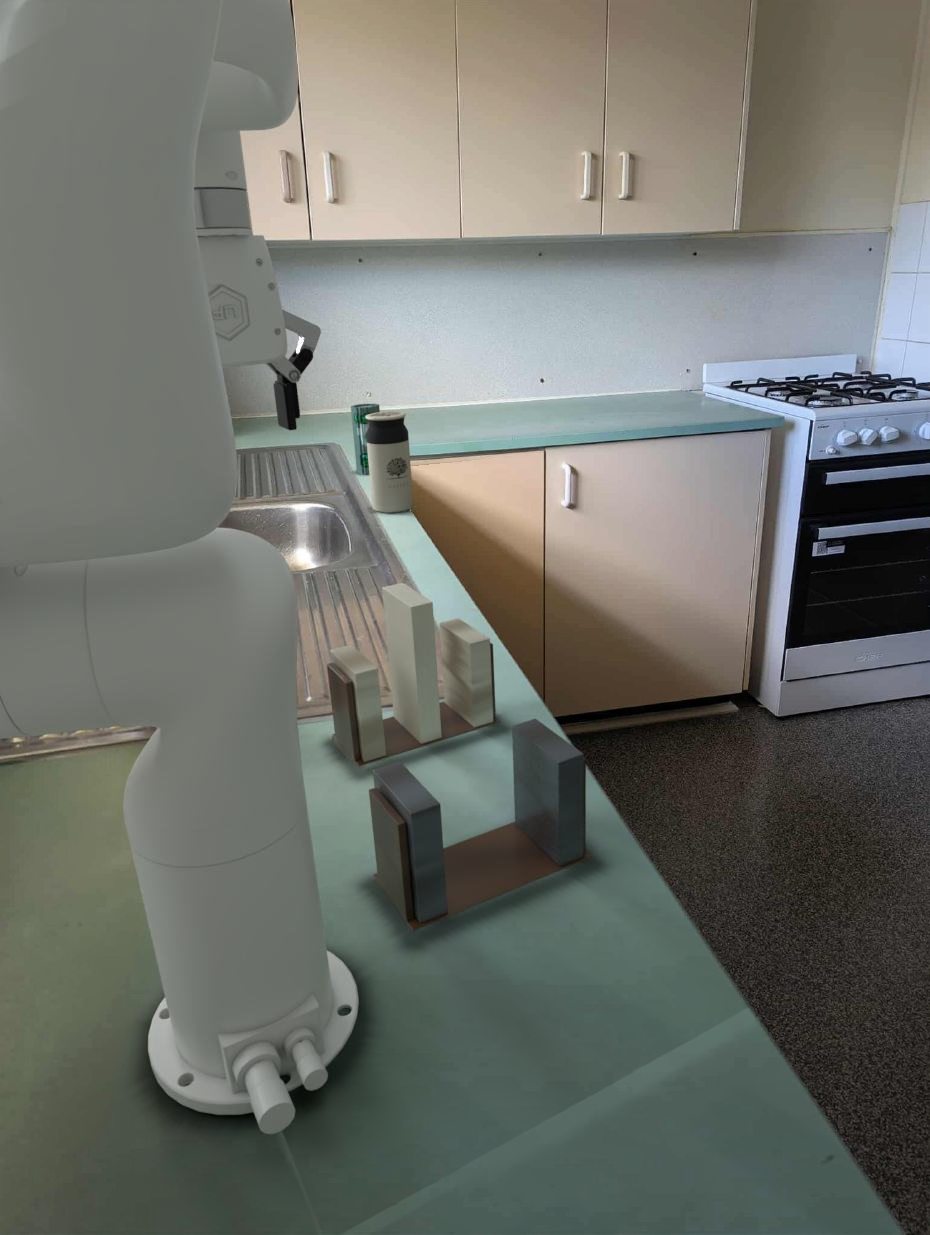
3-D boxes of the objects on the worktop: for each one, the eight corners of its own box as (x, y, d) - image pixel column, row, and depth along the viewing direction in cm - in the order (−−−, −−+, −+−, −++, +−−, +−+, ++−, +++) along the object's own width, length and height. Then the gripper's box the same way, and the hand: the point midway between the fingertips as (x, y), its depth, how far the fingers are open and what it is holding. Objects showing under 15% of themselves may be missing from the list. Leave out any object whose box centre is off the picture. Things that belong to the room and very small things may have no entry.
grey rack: (593, 866, 67) (594, 752, 63) (413, 942, 60) (403, 819, 56) (542, 821, 72) (540, 714, 69) (373, 885, 66) (361, 770, 62)
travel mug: (370, 505, 173) (361, 413, 166) (409, 501, 175) (402, 409, 168) (375, 515, 166) (367, 419, 159) (417, 510, 167) (410, 415, 161)
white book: (441, 737, 84) (432, 601, 79) (421, 744, 83) (410, 607, 78) (413, 711, 89) (402, 582, 84) (393, 717, 88) (381, 587, 83)
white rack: (501, 730, 87) (498, 637, 83) (359, 775, 80) (349, 677, 77) (467, 703, 93) (463, 615, 89) (332, 743, 86) (321, 650, 82)
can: (367, 475, 198) (361, 408, 193) (352, 472, 203) (346, 406, 197) (389, 470, 202) (383, 404, 196) (374, 467, 206) (368, 402, 201)
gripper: (93, 217, 63) (138, 455, 69) (322, 213, 70) (343, 428, 76) (81, 224, 69) (123, 442, 75) (292, 219, 76) (314, 418, 83)
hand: (234, 435), depth 76 cm, fingers open, 9 cm apart
